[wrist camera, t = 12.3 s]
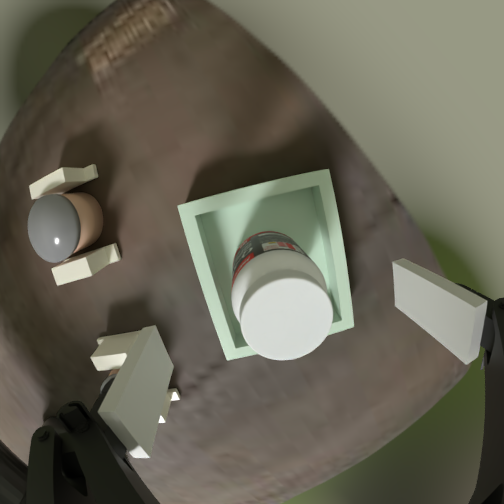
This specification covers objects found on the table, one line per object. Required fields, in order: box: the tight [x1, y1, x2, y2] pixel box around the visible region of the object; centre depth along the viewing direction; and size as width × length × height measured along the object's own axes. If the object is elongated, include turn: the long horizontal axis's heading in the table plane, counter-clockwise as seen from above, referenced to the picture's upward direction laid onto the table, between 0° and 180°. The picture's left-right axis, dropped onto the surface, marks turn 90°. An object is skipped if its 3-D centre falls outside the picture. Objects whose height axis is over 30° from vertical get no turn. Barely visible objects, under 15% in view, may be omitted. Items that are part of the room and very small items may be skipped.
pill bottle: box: [231, 231, 333, 360], centre depth 18 cm, size 6×6×10 cm
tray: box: [178, 169, 354, 360], centre depth 22 cm, size 11×13×3 cm
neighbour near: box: [28, 192, 103, 263], centre depth 19 cm, size 5×5×5 cm
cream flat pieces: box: [29, 164, 180, 423], centre depth 22 cm, size 6×24×4 cm, turn 14°
